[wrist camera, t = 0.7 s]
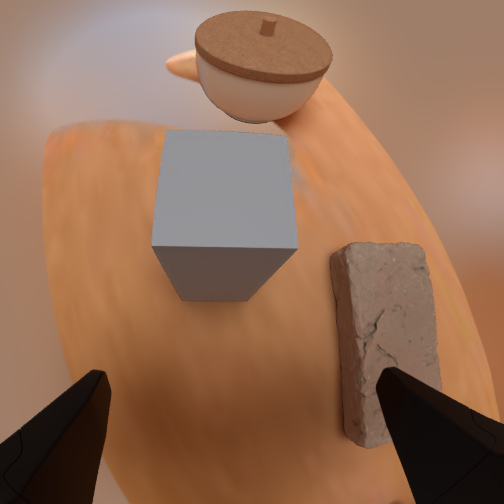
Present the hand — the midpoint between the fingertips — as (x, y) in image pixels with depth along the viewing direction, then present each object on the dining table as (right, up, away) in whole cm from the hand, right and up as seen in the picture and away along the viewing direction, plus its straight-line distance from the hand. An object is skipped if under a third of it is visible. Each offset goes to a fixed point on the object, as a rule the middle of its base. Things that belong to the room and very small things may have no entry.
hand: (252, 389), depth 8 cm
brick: (+11, -4, +15) cm, 19 cm away
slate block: (-3, +3, +15) cm, 15 cm away
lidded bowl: (0, +21, +21) cm, 30 cm away
